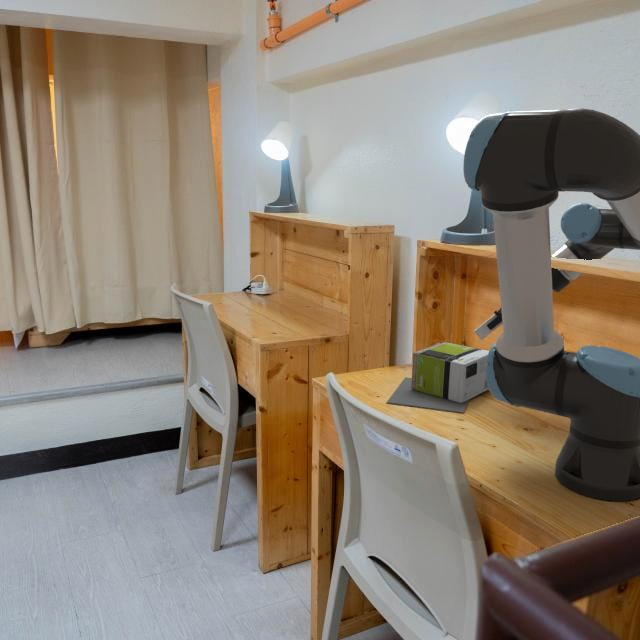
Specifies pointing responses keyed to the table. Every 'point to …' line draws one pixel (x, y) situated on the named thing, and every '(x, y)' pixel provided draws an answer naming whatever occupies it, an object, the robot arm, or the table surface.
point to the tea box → (450, 371)
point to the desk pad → (423, 399)
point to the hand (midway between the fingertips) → (478, 335)
